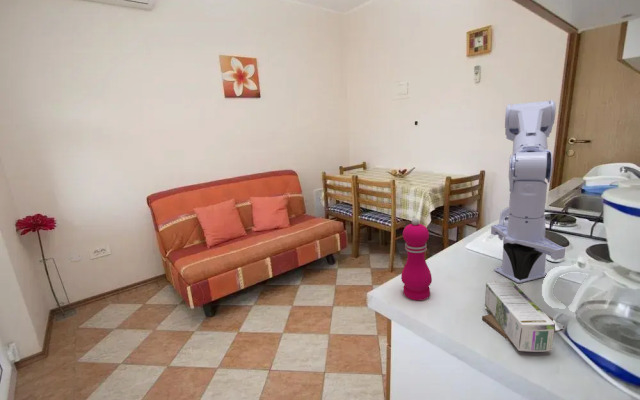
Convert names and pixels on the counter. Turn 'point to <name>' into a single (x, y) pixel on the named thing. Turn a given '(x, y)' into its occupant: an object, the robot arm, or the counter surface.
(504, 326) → the syrup box
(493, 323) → the walnut board
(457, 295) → the counter surface
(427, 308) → the counter surface
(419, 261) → the pepper mill
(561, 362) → the counter surface
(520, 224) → the robot arm
